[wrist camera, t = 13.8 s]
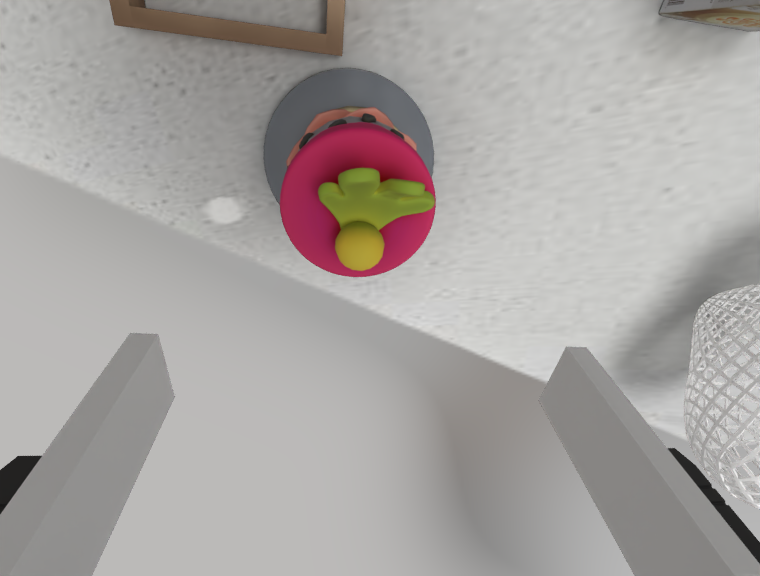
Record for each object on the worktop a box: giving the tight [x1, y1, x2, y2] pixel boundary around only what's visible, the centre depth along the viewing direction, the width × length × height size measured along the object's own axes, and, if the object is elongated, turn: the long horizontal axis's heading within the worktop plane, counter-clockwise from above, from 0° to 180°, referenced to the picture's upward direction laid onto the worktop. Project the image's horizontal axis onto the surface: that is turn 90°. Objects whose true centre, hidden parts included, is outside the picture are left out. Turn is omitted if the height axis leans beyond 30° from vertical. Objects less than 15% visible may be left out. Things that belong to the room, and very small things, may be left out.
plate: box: [264, 68, 434, 204], centre depth 34 cm, size 15×15×1 cm
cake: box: [280, 106, 436, 277], centre depth 27 cm, size 10×11×15 cm
